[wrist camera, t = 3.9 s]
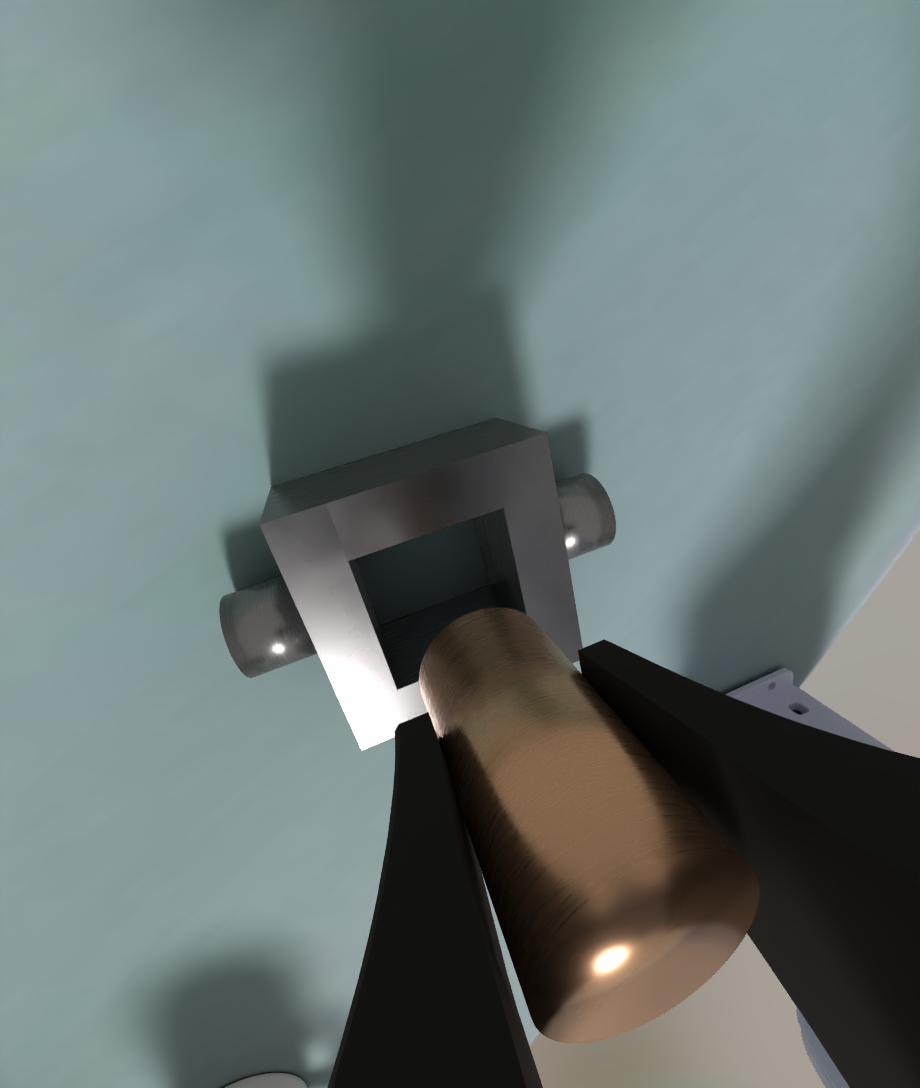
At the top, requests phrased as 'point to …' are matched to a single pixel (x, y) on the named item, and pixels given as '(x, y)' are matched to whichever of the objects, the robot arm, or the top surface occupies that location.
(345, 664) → the valve body
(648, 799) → the tapered valve plug
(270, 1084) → the mug
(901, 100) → the top surface
